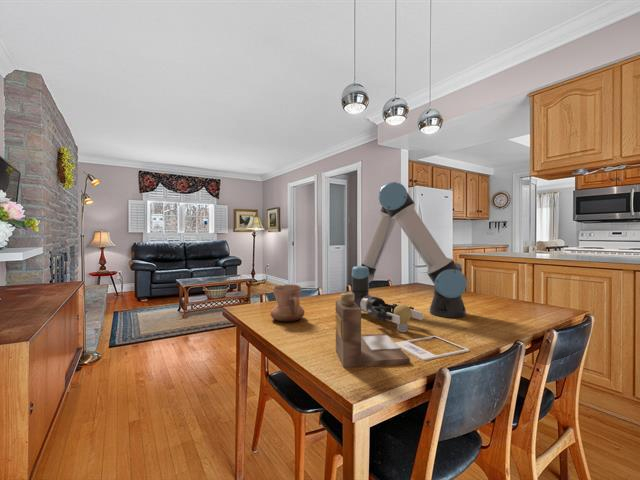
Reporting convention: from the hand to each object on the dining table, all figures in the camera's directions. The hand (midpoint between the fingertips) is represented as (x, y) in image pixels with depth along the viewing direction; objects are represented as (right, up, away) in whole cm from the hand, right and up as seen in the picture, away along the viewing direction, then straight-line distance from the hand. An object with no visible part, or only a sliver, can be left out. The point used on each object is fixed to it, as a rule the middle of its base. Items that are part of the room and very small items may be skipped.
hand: (410, 318), depth 113 cm
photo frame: (+2, -7, -13) cm, 15 cm away
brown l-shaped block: (-18, -6, -15) cm, 25 cm away
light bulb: (-2, -6, +4) cm, 8 cm away
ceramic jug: (-46, -6, +21) cm, 51 cm away
